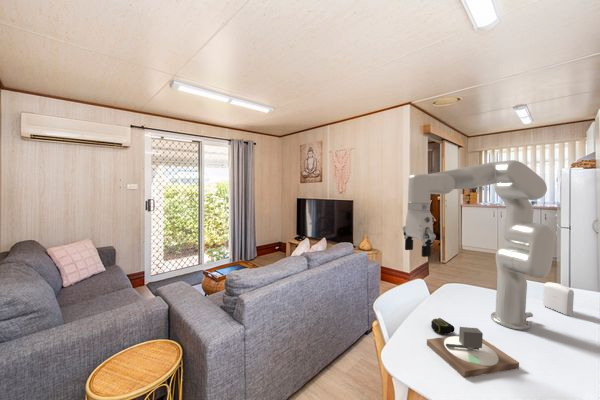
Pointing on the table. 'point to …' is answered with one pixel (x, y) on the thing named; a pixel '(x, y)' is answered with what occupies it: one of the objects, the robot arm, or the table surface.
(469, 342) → the grey mallet
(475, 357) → the dial face
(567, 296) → the photo printer
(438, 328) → the tape measure
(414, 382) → the table surface
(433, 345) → the tuner board
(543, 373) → the table surface
